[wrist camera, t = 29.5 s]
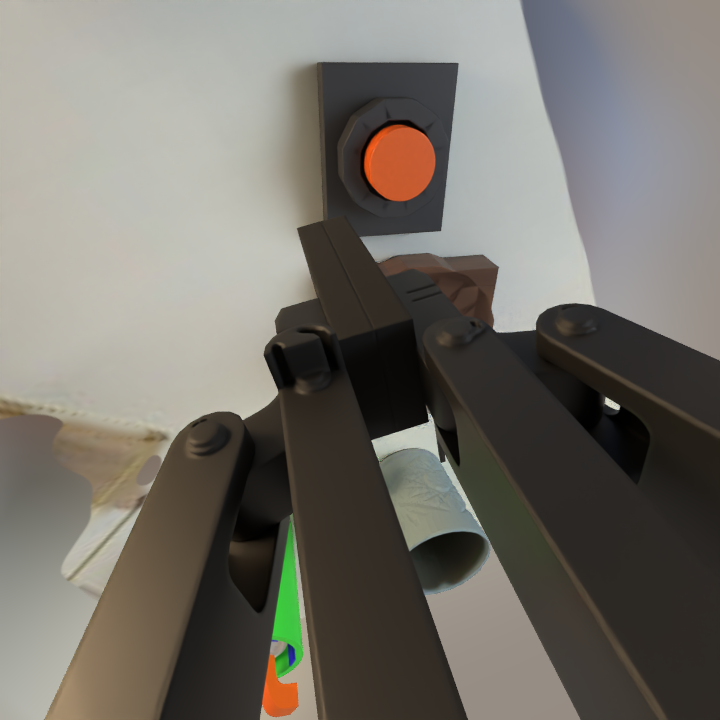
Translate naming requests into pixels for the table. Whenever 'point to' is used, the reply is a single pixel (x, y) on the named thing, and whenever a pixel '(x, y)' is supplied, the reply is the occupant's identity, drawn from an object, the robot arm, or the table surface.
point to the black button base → (367, 117)
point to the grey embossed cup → (434, 521)
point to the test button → (399, 162)
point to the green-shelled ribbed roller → (284, 641)
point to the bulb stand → (454, 279)
